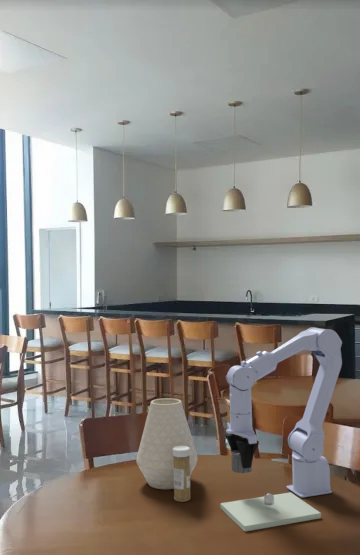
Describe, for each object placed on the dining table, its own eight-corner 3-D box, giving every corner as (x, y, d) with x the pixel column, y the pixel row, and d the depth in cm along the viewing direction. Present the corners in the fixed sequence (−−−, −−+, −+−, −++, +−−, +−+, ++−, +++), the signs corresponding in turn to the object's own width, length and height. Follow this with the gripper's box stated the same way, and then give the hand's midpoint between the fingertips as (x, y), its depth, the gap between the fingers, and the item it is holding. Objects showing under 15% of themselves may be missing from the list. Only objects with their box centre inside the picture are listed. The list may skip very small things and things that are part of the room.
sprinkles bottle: (194, 499, 141) (193, 448, 141) (179, 504, 138) (178, 451, 139) (184, 494, 145) (183, 443, 145) (170, 498, 142) (169, 447, 142)
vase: (209, 478, 156) (207, 398, 157) (176, 498, 142) (175, 410, 142) (159, 468, 166) (158, 393, 166) (124, 486, 151) (122, 404, 152)
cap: (246, 465, 145) (246, 448, 145) (255, 471, 140) (254, 454, 140) (228, 467, 143) (228, 450, 143) (236, 474, 138) (236, 456, 138)
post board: (290, 496, 142) (290, 478, 142) (321, 518, 128) (320, 498, 128) (220, 508, 135) (220, 489, 135) (244, 531, 122) (244, 510, 122)
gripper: (216, 407, 147) (217, 457, 147) (238, 419, 134) (239, 475, 133) (240, 405, 150) (241, 454, 149) (263, 417, 136) (265, 471, 135)
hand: (242, 464), depth 141 cm, fingers closed on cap, 5 cm apart
